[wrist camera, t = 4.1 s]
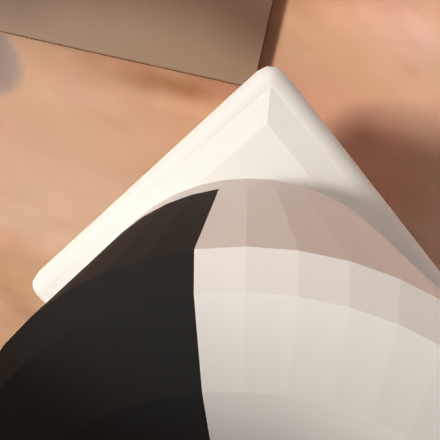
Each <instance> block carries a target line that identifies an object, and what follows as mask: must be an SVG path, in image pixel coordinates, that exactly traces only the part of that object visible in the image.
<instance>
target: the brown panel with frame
mask: <svg viewBox="0 0 440 440" xmlns="http://www.w3.org/2000/svg"><path fill="white" fill-rule="evenodd" d="M272 2H273V0H0V32H5V33H9V34H14V35H18V36H23V37H27V38H32V39H36V40H40V41H45V42H49V43H54V44H58V45H63V46H67V47H72V48H76V49H81V50H85V51H90V52H94V53H98V54H103V55H107V56H112V57H116V58H121V59H125V60H130V61H134V62H139V63H143V64H148V65H152V66H156V67H161V68H165V69H170V70H174V71H179V72H183V73H188V74H192V75H197V76H201V77H206V78H210V79H214V80H219V81H223V82H228V83H232V84H237V85H242V84H243V83H244V82H246V81H247V80H248V79H249V78H250V77H251V76H252V75H253V74H254V73H255V72H256V71H257V68H258V64H259V59H260V55H261V50H262V46H263V42H264V37H265V33H266V28H267V24H268V20H269V15H270V11H271V6H272Z"/></svg>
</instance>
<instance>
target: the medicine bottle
mask: <svg viewBox="0 0 440 440" xmlns="http://www.w3.org/2000/svg"><path fill="white" fill-rule="evenodd" d="M33 290H34V291H35V293H36V294H37V295H38V296H39V297H40V298H41V299H42V300H43V301H44V302H45V303H46V304H45V305H44V306H42V307H41V308H40V309H39V310H38V311H37V312H36V313H35V314H34V315H33V316H32V317H31V318H30V319H29V320H28V321H27V322H26V323H25V324H24V325H23V326H22V327H21V328H20V329H19V330H18V331H17V332H16V333H15V334H14V335H13V336H12V337H11V338H10V339H9V341H8V342H7V343H6V344H5V345H4V346H3V348H2V349H1V351H0V440H440V271H439V270H438V268H437V267H436V266H435V265H434V263H433V262H432V261H431V259H430V258H429V257H428V256H427V254H426V253H425V252H424V250H423V249H422V248H421V247H420V245H419V244H418V243H417V241H416V240H415V239H414V238H413V236H412V235H411V234H410V232H409V231H408V230H407V229H406V227H405V226H404V225H403V223H402V222H401V221H400V220H399V218H398V217H397V216H396V214H395V213H394V212H393V211H392V209H391V208H390V207H389V205H388V204H387V203H386V202H385V200H384V199H383V198H382V196H381V195H380V194H379V193H378V191H377V190H376V189H375V187H374V186H373V185H372V184H371V182H370V181H369V180H368V178H367V177H366V176H365V175H364V173H363V172H362V171H361V169H360V168H359V167H358V166H357V164H356V163H355V162H354V160H353V159H352V158H351V157H350V155H349V154H348V153H347V151H346V150H345V149H344V148H343V146H342V145H341V144H340V142H339V141H338V140H337V139H336V137H335V136H334V135H333V133H332V132H331V131H330V130H329V128H328V127H327V126H326V124H325V123H324V122H323V121H322V119H321V118H320V117H319V115H318V114H317V113H316V112H315V110H314V109H313V108H312V106H311V105H310V104H309V103H308V101H307V100H306V99H305V98H304V96H303V95H302V94H301V92H300V91H299V90H298V89H297V87H296V86H295V85H294V83H293V82H292V81H291V80H290V78H289V77H288V76H287V74H286V73H285V72H283V71H282V70H281V69H279V68H278V67H272V66H266V67H264V68H262V69H260V70H258V71H256V72H255V73H254V74H253V75H252V76H251V77H250V78H249V79H248V80H247V81H246V82H244V83H243V84H242V85H241V86H240V87H239V88H238V89H237V90H236V91H235V92H234V93H233V94H231V95H230V96H229V97H228V98H227V99H226V100H225V101H224V102H223V103H222V104H221V105H219V106H218V107H217V108H216V109H215V110H214V111H213V112H212V113H211V114H210V115H209V116H207V117H206V118H205V119H204V120H203V121H202V122H201V123H200V124H199V125H198V126H197V127H196V128H194V129H193V130H192V131H191V132H190V133H189V134H188V135H187V136H186V137H185V138H184V139H182V140H181V141H180V142H179V143H178V144H177V145H176V146H175V147H174V148H173V149H172V150H170V151H169V152H168V153H167V154H166V155H165V156H164V157H163V158H162V159H161V160H160V161H159V162H157V163H156V164H155V165H154V166H153V167H152V168H151V169H150V170H149V171H148V172H147V173H145V174H144V175H143V176H142V177H141V178H140V179H139V180H138V181H137V182H136V183H135V184H133V185H132V186H131V187H130V188H129V189H128V190H127V191H126V192H125V193H124V194H123V195H121V196H120V197H119V198H118V199H117V200H116V201H115V202H114V203H113V204H112V205H111V206H110V207H108V208H107V209H106V210H105V211H104V212H103V213H102V214H101V215H100V216H99V217H98V218H96V219H95V220H94V221H93V222H92V223H91V224H90V225H89V226H88V227H87V228H86V229H84V230H83V231H82V232H81V233H80V234H79V235H78V236H77V237H76V238H75V239H74V240H73V241H71V242H70V243H69V244H68V245H67V246H66V247H65V248H64V249H63V250H62V251H61V252H59V253H58V254H57V255H56V256H55V257H54V258H53V259H52V260H51V261H50V262H49V263H47V264H46V265H45V266H44V267H43V268H42V269H41V270H40V271H39V272H38V274H37V275H36V277H35V279H34V281H33Z"/></svg>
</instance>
